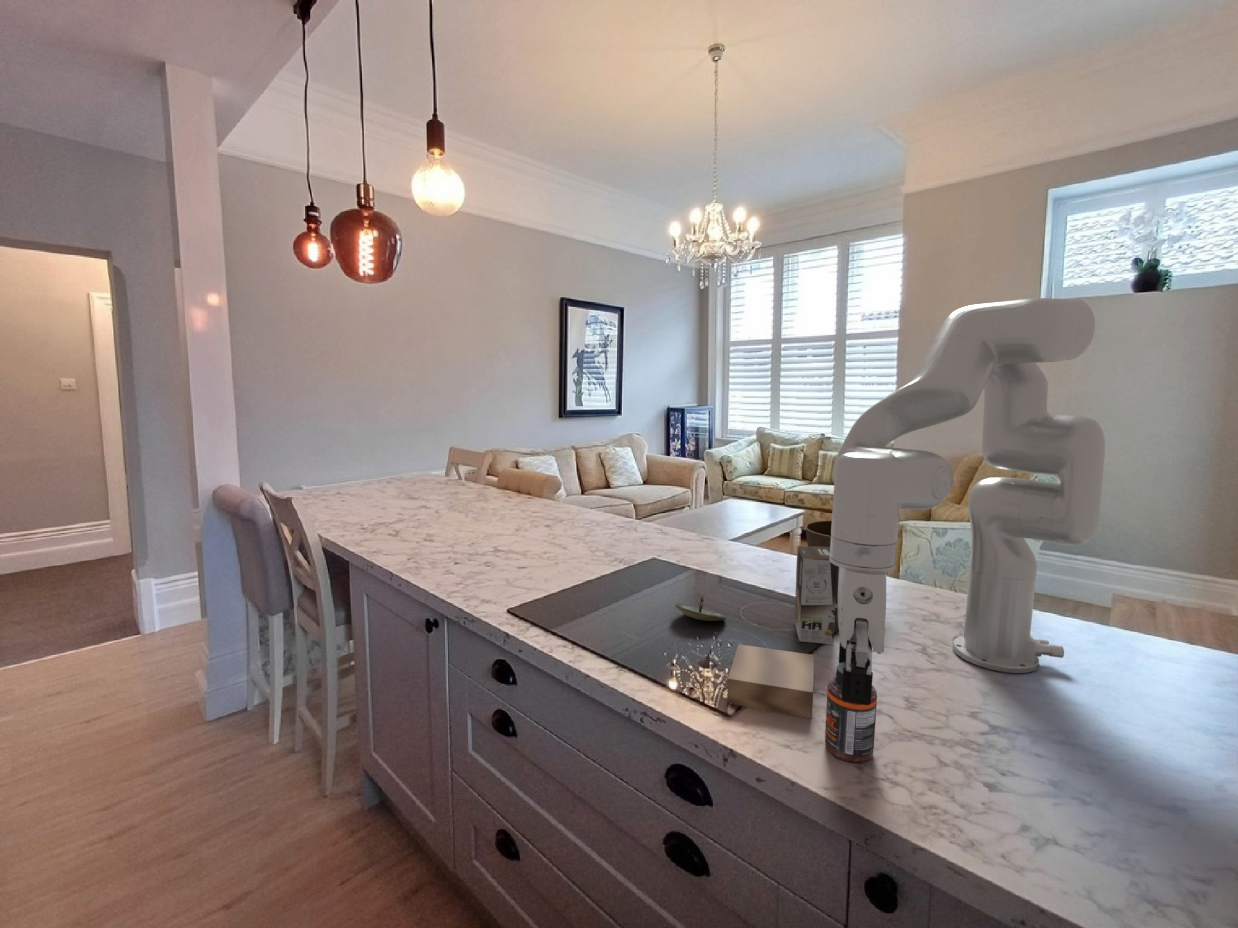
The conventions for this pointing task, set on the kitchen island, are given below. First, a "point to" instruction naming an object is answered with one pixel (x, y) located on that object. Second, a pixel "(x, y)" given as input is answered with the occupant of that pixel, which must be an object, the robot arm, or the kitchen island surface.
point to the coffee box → (815, 595)
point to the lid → (700, 612)
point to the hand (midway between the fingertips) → (853, 682)
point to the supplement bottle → (849, 723)
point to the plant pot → (820, 538)
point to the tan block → (772, 680)
